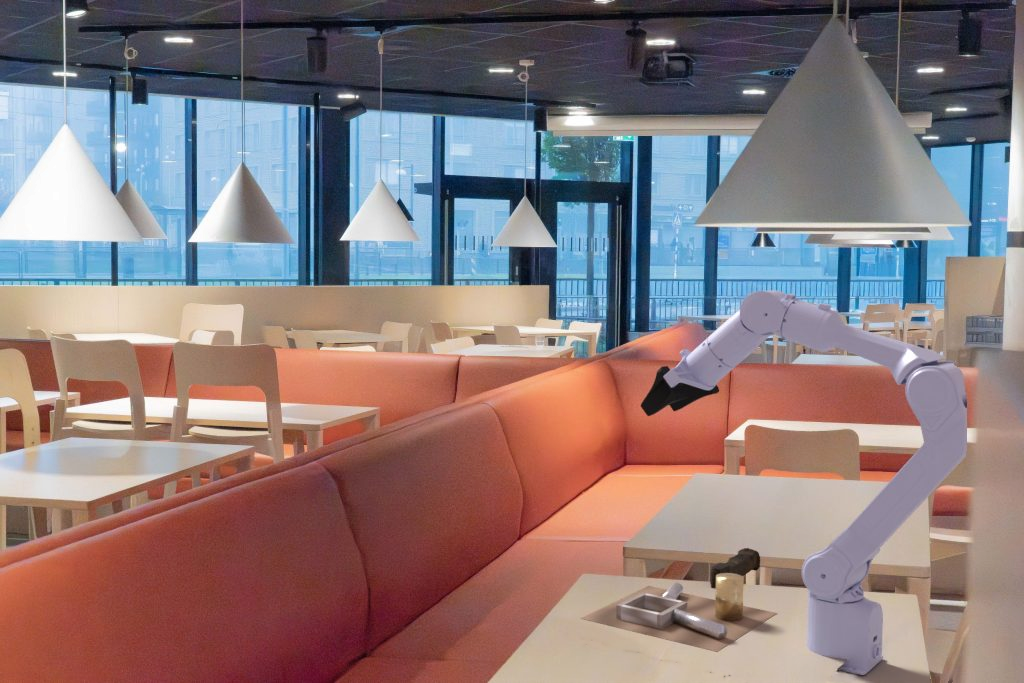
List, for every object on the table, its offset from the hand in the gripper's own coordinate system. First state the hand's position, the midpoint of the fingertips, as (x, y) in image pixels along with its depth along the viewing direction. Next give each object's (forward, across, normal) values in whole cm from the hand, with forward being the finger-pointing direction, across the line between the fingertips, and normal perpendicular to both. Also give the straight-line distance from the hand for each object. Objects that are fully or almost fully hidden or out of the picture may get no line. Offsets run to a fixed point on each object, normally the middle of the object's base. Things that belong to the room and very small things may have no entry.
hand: (658, 408), depth 160 cm
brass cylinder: (+12, -4, +30) cm, 32 cm away
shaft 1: (+20, -4, +23) cm, 31 cm away
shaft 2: (+13, +5, +29) cm, 32 cm away
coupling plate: (+18, 0, +27) cm, 32 cm away
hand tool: (+20, -24, +25) cm, 40 cm away
